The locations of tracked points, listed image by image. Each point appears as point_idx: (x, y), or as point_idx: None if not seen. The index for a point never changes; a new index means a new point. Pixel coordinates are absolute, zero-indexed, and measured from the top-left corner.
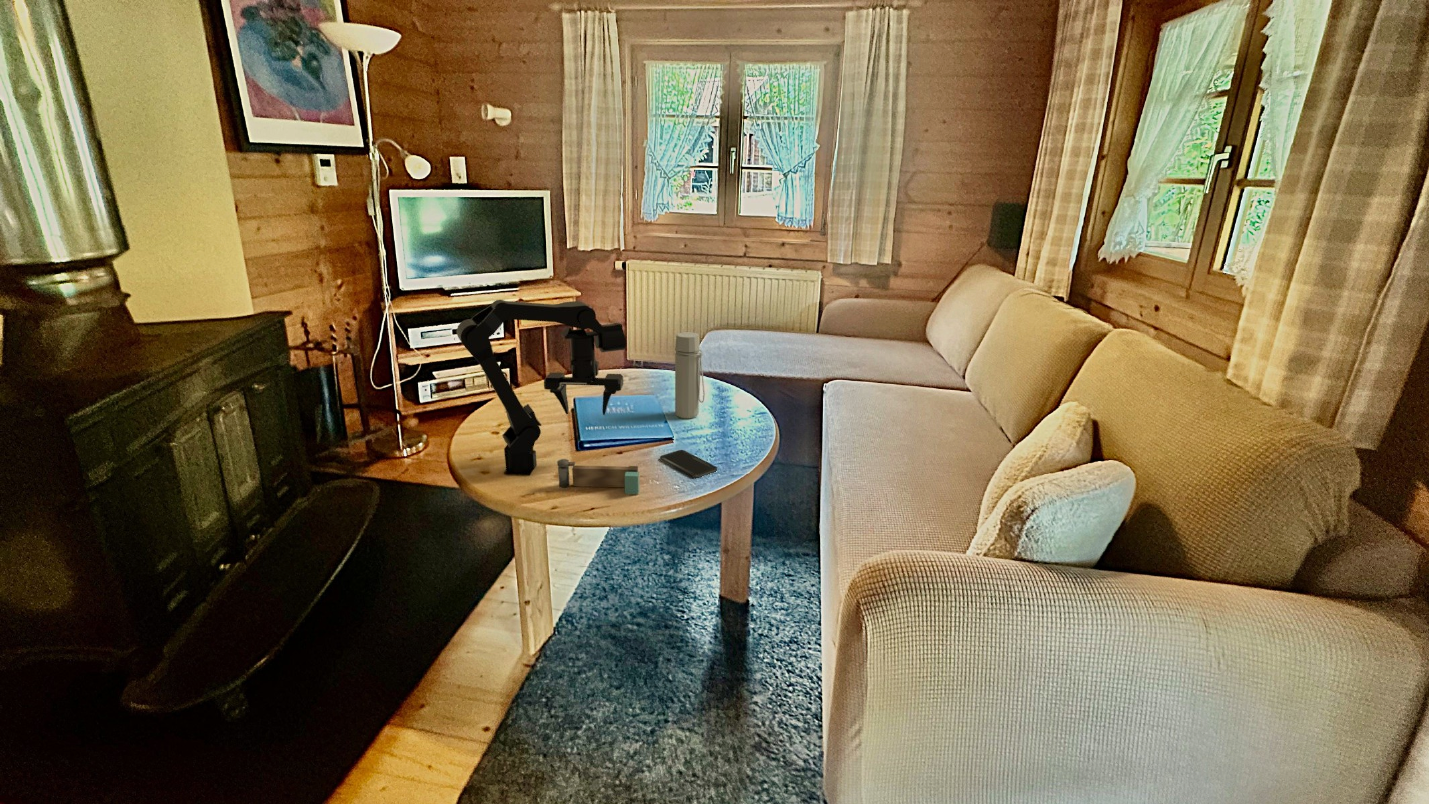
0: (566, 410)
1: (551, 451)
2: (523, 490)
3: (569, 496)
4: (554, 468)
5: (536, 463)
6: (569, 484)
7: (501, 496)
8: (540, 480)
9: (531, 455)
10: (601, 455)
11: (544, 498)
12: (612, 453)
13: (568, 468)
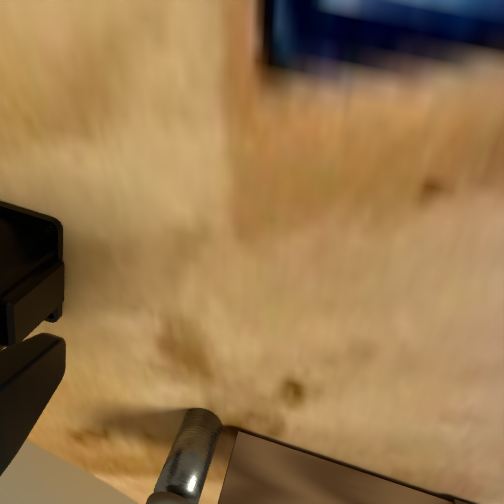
0: (18, 438)
1: (105, 47)
2: (68, 406)
3: (221, 483)
4: (151, 277)
5: (58, 270)
6: (219, 434)
7: None
8: (110, 361)
9: (9, 346)
10: (412, 183)
11: (144, 468)
12: (494, 169)
13: (198, 500)
